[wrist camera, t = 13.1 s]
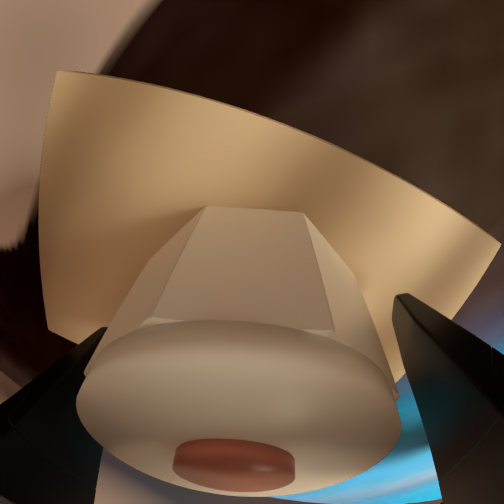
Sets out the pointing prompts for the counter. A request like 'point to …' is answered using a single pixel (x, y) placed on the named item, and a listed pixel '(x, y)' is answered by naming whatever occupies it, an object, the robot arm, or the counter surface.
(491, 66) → the counter surface
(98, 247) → the stud block
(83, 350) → the robot arm
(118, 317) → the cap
